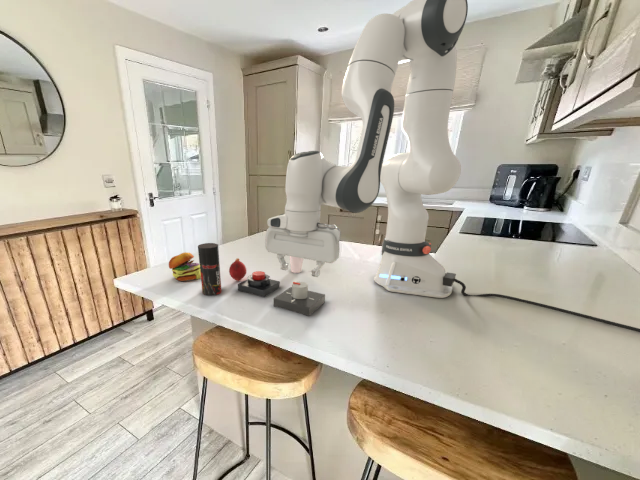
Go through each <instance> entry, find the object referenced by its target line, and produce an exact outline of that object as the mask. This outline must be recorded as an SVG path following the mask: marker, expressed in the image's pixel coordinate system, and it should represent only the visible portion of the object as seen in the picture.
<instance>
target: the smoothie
mask: <svg viewBox="0 0 640 480" xmlns="http://www.w3.org/2000/svg"><path fill="white" fill-rule="evenodd" d="M303 263H304V258H298V257H293V256H289V264H290V272H291V273H293V274H300V273H302V271H303V270H302V269H303Z"/></svg>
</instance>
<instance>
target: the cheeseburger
mask: <svg viewBox="0 0 640 480" xmlns="http://www.w3.org/2000/svg"><path fill="white" fill-rule="evenodd" d="M194 258H195V256H194V254H193V253H192V252H186V251H185V252H181V253H180V254H178V255H174V256H172V257H171V258H170V260H169V262H168V268H169V269H171V271H172V276H173V278H174V279H175V280H177V281H178V282H179V281H180V282H184V281H185V282H186V281H191V280H199V279H201V273H200V263H198V262H194V261H195V259H194ZM192 259H193V260H192Z"/></svg>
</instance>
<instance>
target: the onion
mask: <svg viewBox="0 0 640 480" xmlns="http://www.w3.org/2000/svg"><path fill="white" fill-rule="evenodd" d="M228 272H229V276H230V277H231V278H232V279H233V280H235V281H236V282H241V280H242V279H244V278H245V276H246V274H247V267H246V265H245V264H244V263H243V262H242V261H241V260H240V258H239V257H237V258H236V259H235V261H233V262H232V263H231V264H230V266H229V269H228Z"/></svg>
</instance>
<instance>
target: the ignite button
mask: <svg viewBox="0 0 640 480" xmlns="http://www.w3.org/2000/svg"><path fill="white" fill-rule="evenodd" d="M265 274H266V272H265V271H263V270H261V271H260V270H257V271H253V272H252V273H251V275H252V279H254V280H263V279H265Z"/></svg>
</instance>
